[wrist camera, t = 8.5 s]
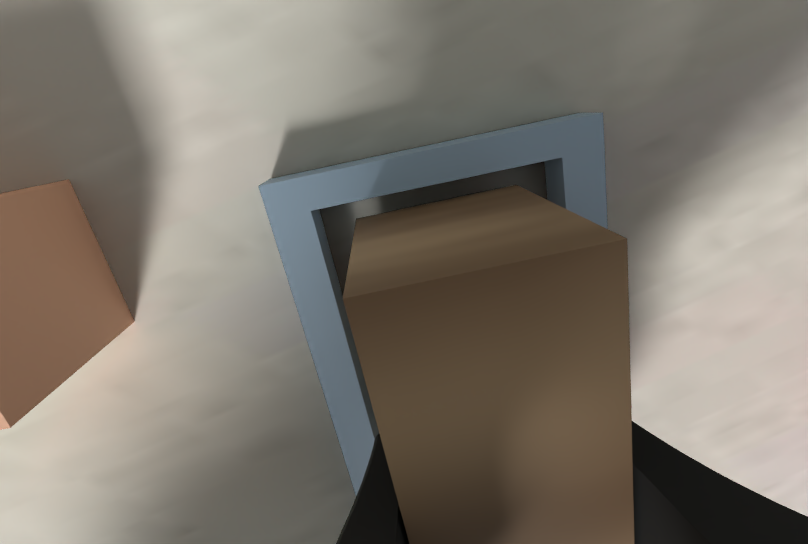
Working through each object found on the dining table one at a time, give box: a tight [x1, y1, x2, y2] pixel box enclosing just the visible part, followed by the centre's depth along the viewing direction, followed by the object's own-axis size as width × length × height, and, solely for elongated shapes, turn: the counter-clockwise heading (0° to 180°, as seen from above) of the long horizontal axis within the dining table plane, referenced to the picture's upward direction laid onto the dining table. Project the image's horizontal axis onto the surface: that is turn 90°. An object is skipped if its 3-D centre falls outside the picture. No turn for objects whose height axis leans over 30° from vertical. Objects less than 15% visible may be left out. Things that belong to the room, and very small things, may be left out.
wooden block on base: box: [343, 185, 634, 544], centre depth 10 cm, size 11×4×5 cm, turn 11°
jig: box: [259, 113, 608, 496], centre depth 13 cm, size 15×14×1 cm
